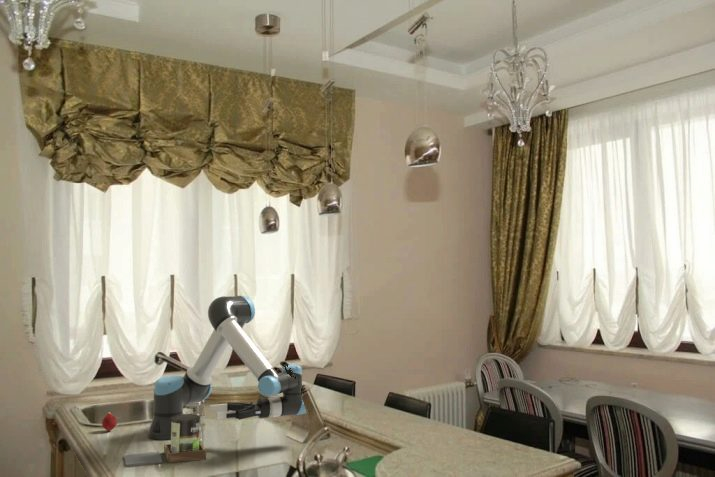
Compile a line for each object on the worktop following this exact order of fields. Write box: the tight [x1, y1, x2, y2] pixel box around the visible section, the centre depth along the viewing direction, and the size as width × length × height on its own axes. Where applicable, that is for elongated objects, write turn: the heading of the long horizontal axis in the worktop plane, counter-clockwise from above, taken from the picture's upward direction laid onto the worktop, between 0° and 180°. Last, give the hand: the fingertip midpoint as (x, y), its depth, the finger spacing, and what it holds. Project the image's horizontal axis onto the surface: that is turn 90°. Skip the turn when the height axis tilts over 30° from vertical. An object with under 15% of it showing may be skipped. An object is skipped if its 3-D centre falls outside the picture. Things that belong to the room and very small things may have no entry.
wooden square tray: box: [163, 440, 207, 464], centre depth 224 cm, size 13×13×3 cm
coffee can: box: [170, 413, 201, 453], centre depth 224 cm, size 10×10×14 cm
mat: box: [123, 451, 163, 468], centre depth 218 cm, size 12×12×1 cm
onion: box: [101, 411, 118, 432], centre depth 257 cm, size 6×6×8 cm
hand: (213, 412), depth 228 cm, fingers open, 13 cm apart
